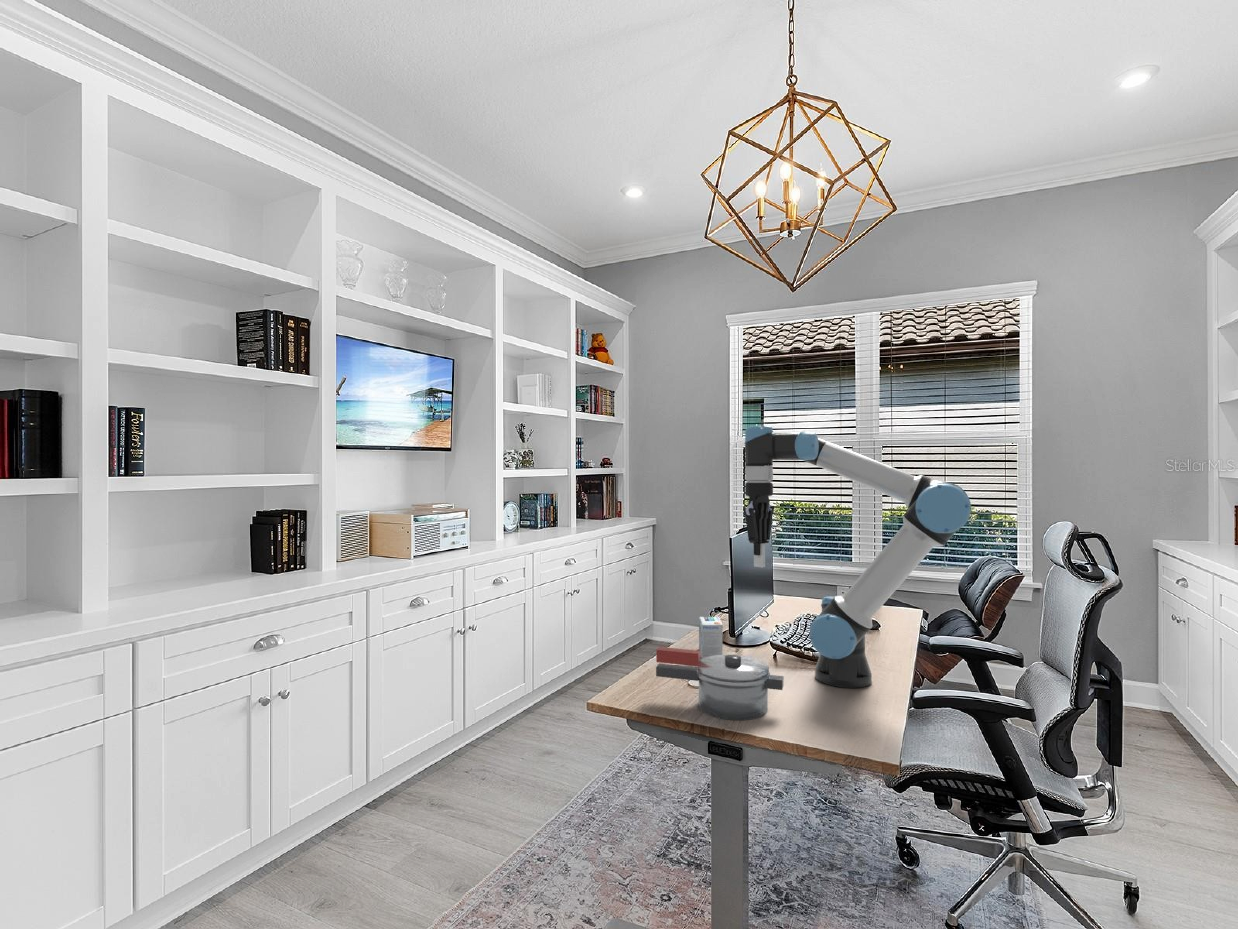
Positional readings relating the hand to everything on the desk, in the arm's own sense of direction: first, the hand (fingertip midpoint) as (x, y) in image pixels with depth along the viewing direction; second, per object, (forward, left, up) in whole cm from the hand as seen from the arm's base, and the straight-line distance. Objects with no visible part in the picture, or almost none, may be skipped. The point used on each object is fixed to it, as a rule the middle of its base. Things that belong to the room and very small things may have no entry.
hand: (759, 566), depth 186 cm
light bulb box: (+18, -22, -33) cm, 43 cm away
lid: (+9, +21, -23) cm, 32 cm away
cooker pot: (+8, +21, -32) cm, 39 cm away
